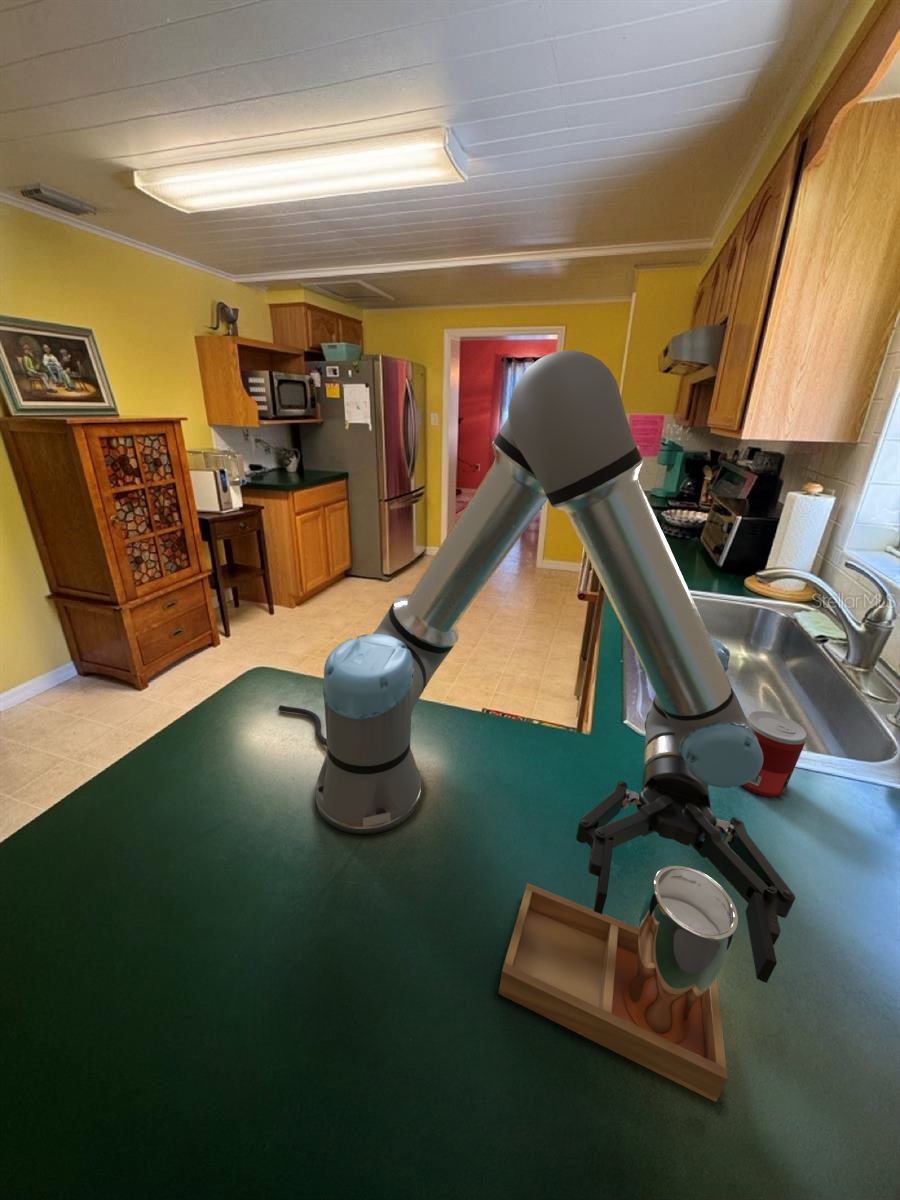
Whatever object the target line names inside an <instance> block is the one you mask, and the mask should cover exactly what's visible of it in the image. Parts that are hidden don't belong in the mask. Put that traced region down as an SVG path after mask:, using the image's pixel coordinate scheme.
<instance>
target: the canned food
mask: <svg viewBox="0 0 900 1200" xmlns="http://www.w3.org/2000/svg"><path fill="white" fill-rule="evenodd" d="M746 719H747V721H748V723H749V725H750V727H751V729H753V730H754V732H755V734H756V736H757V738H758V741H759V745H760V747H761V750H762V753H763V765H762V768H761V770H760V772H759V773H758V775H757V776H756V777H755V778H754V779H752V780H751V781H749V782H748V783H746V784H743V785H740V786H741V787H743V789H746V790H748V791H750V792H751V793H753V794H754V793H755V794H757V795H759V796H765V797H777V796H780V795H782V794H783V793H784V792H785V791H786V789H787V787H788V784H789V782H790V780H791V778H792V775H793V773H794V770H795V768H796V766H797V764H798V761H799V759H800V756H801V754H802V752H803V749H804V747H805V744H806V742H807V738H808V732H807V731H806V729H804V727H802V726H801V725H800V724H799V723H798V722H796V721H794V720H792V719H790V718H788V717H786V716H784V715H781V714H778V713H775V712H771V711H764V710H754V711H751V712H749V713H748V715H747V717H746Z"/></svg>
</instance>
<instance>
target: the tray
mask: <svg viewBox="0 0 900 1200" xmlns="http://www.w3.org/2000/svg"><path fill="white" fill-rule="evenodd" d="M638 928H639V927H637V926H635V925H632V924H631V923H628V922H625V921H623V920H620V919H618V918H616V917H613V916H611V915H608V914H605V913H603V912H602V914H599V913H597V912H595V911H594V908H591V907H589V906H585V905H583V904H580V903H578V902H577V901H573V900H571V899H569V898H567V897H563V896H561V895H559V894H556V893H553V892H551V891H549V890H546V889H544V888H542V887H539V886H536V885H534V884H531V883H530V882H527V883H526V886H525V890H524V893H523V896H522V900H521V904H520V907H519V910H518V914H517V917H516V921H515V924H514V927H513V931H512V933H511V938H510V942H509V945H508V949H507V952H506V956H505V959H504V962H503V965H502V970H501V974H500V975H501V976H500V982H499V988H498V994H499V995H500V996H502V997H504V998H506V999H508V1000H510V1001H512V1002H513V1003H516V1004H518V1005H520V1006H523V1007H524V1008H526V1009H528V1010H530V1011H532V1012H534V1013H536V1014H538V1015H540V1016H541V1017H544V1018H546V1019H548V1020H550V1021H551V1022H554V1023H556V1024H558V1025H560V1026H563V1027H564V1028H567V1029H568V1030H571V1031H572V1032H574V1033H577V1034H578V1035H579V1036H582V1037H584V1038H585V1039H588V1040H590V1041H593V1042H594V1043H597V1044H598V1045H601V1046H603V1047H605V1048H606V1049H608V1050H611V1051H612V1052H614V1053H616V1054H619V1055H620V1056H622V1057H624V1058H626V1059H629V1060H631V1061H632V1062H635V1063H636V1064H638V1065H640V1066H642V1067H645V1068H647V1069H648V1070H651V1071H652V1072H654V1073H657V1074H658V1075H661V1076H662V1077H664V1078H666V1079H668V1080H671V1081H672V1082H675V1083H676V1084H678V1085H680V1086H682V1087H685V1088H687V1089H688V1090H690V1091H692V1092H695V1093H697V1094H698V1095H701V1096H703V1097H704V1098H707V1099H708V1100H711V1101H713V1102H715V1103H716V1102H717V1101H718V1099H719V1097H720V1095H721V1093H722V1091H723V1089H724V1087H725V1085H726V1084H727V1082H728V1080H729V1077H728V1069H727V1061H726V1051H725V1042H724V1032H723V1022H722V1013H721V1004H720V1002H721V1001H720V994H719V984H718V977H717V978H716V980H715V981H714V982H713V984H712V985H711V986H710V987H709V988H708V989H707V990H706V991H705V992H704V993H703V995H702V996H701V997H700V998H699V999H698V1000H697V1001H696V1002H695V1004H694V1005H693V1008H692V1019H691V1026H690V1029H689V1032H688V1034H687V1035H686V1037H685V1038H684V1039H682V1040H681V1041H679V1042H676V1043H672V1042H670V1041H668V1040H665V1039H663V1038H661V1037H659V1036H657V1035H655V1034H653V1033H651V1032H649V1031H646V1030H644V1029H642V1028H640V1027H639V1026H638V1025H637V1024H636V1022H635V1021H634V1020H633V1018H632V1017H631V1015H630V1013H629V1011H628V1009H627V1006H626V1003H625V999H624V984H625V981H626V978H627V977H628V975H629V973H630V972H631V971H632V970H633V968H634V967H635V965H636V961H637V941H638Z"/></svg>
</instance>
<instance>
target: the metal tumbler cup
mask: <svg viewBox="0 0 900 1200" xmlns="http://www.w3.org/2000/svg"><path fill="white" fill-rule="evenodd" d="M645 897H646V898H645V900H644V902H643V906H642V909H641V912H640V916H639V920H638V927H637V928H638V941H637V961H636V965H635V967H634V968H633V970H632V971H631V972H630V973H629V975H628V977H627V978H626V981H625V984H624V999H625V1003H626V1006H627V1009H628V1011H629V1013H630V1015H631V1017H632V1018H633V1020H634V1021H635V1022H636V1024H637V1025H638V1026H639V1027H640V1028H642V1029H644V1030H646V1031H649V1032H651V1033H653V1034H655V1035H657V1036H659V1037H661V1038H663V1039H665V1040H668V1041H670V1042H672V1043H676V1042H679V1041H681V1040H682V1039H684V1038H685V1037H686V1035H687V1034H688V1032H689V1029H690V1026H691V1019H692V1008H693V1005H694V1004H695V1002H696V1001H697V1000H698V999H699V998H700V997H701V996H702V995H703V993H704V992H705V991H706V990H707V989H708V988H709V987H710V986H711V985H712V984H713V982H714V981H715V980H716V978H717V979H718V977H719V976H720V974H721V972H722V971H723V968H724V967H725V965H726V962H727V959H728V956H729V954H730V951H731V948H732V945H733V941H734V938H735V934H736V930H737V928H738V925H739V916H738V915H739V914H738V911H737V908H736V905H735V903H734V901H733V900H732V898H731V896H730V895H729V894H728V893H727V890H725V888H723V886H721V884H719V883H718V881H716V880H715V879H714V878H712V877H710V876H709V875H707V874H705V873H704V872H703V871H701V870H698V869H696V868H694V867H691V866H687V865H681V864H671V865H667V866H664V867H662V868H661V869H659V870H658V871H657V872H656V875H655V876H654V880H653V882H652V884H651V887H650V888H649V890H648V893H647V894H646V896H645Z"/></svg>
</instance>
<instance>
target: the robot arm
mask: <svg viewBox="0 0 900 1200" xmlns="http://www.w3.org/2000/svg"><path fill="white" fill-rule="evenodd" d="M615 377H616V376H615V375H614V374H613V372H612V371H611V369H610V368H609V367H608V366H607V365H606V364H605V363H604V362H603V361H602V360H601V359H599V358H598V357H596V356H594V355H592V354H590V353H587V352H584V351H580V350H576V349H575V350H573V349H571V350H570V349H569V350H568V349H567V350H560V351H555V352H551V353H549V354H546V355H544V356H542V357H539V359H537V360H536V361H534V362H533V363H532V364H531V365H530V366H528V367H527V368H526V369H525V370H524V372H523V373H522V375H521V376H520V377H519V378H518V381H517V382H516V384H515V385H514V388H513V390H512V392H511V396H510V399H509V404H508V416H507V418H506V420H504V423H503V425H502V426H501V428H500V429H499V432H498V433H497V435H496V436H495V438H494V439H493V441H492V448H493V449H492V450H493V454H494V462H493V463H492V464H491V466H490V468H489V469H488V471H487V472H486V474H485V475H484V477H483V479H482V480H481V482H480V483H479V485H478V487H477V488H476V490H475V491H474V493H473V494H472V496H471V498H470V499H469V501H468V502H467V504H466V505H465V507H464V509H463V510H462V512H461V513H460V515H459V517H458V518H457V519H456V521H455V523H454V524H453V526H452V528H451V529H450V531H449V532H448V534H447V536H446V537H445V538H444V540H443V542H442V543H441V545H440V546H439V548H438V550H437V551H436V553H435V555H434V556H433V557H432V559H431V561H430V562H429V564H428V565H427V567H426V569H425V570H424V572H423V573H422V575H421V577H420V578H419V579H418V581H417V583H416V584H415V586H414V588H413V589H412V590H411V592H410V593H406V594H401V595H398V596H397V597H395V599H394V600H393V602H392V603H391V605H390V607H389V609H388V610H387V612H386V613H385V615H384V617H383V618H382V619H381V622H379V625H378V626H377V628H375V630H374V632H373V633H368V634H361V635H358V636H357V637H356V638H348V639H346V640H345V641H343V642H341V643H339V644H338V645H337V646H336V647H334V648H333V649H332V651H331V652H330V653H329V655H328V656H327V658H326V660H325V663H324V667H323V678H322V694H323V703H324V719H325V721H324V722H325V737H324V735H323V734H322V722H321V719H320V717H319V716H318V714H316V713H315V712H314V711H312V710H309V709H305V708H301V707H293V706H286V705H283V704H280V705H279V706H278V711H281V712H286V713H293V714H299V715H303V716H306V717H309V718H310V719H312V720H313V721H314V732H315V736H316V739H317V740H318V742H319V743H320V744H322V745H324V746H325V747H326V754H325V757H324V760H323V763H322V766H321V769H320V771H319V773H318V776H317V780H316V786H315V802H316V809H317V810H318V813H319V814H320V816H321V817H322V819H323V820H325V822H326V823H327V824H329V825H330V826H331V827H333V828H335V829H337V830H339V831H342V832H344V833H349V834H355V835H372V834H378V833H382V832H385V831H386V832H387V831H389V830H391V829H393V828H395V827H397V826H399V825H401V824H402V823H404V822H405V821H406V820H407V819H408V818H410V817H411V816H412V815H413V814H414V812H415V811H416V809H417V807H418V805H419V803H420V800H421V796H422V778H421V774H420V771H419V769H418V766H417V763H416V759H415V757H414V755H413V752H412V748H411V733H412V732H411V731H412V715H413V711H414V708H415V706H416V705H417V702H418V701H419V699H420V698H421V696H422V694H423V693H424V691H425V689H426V687H427V685H428V684H429V682H430V681H431V679H432V677H433V676H434V674H435V673H436V671H437V670H438V669H439V668H440V666H441V665H442V663H443V662H444V661H445V659H446V658H447V656H448V655H449V654H450V652H451V651H452V649H453V648H454V646H455V645H456V644H457V643H458V641H459V638H460V631H459V627H458V624H459V623H460V622H461V620H462V619H463V617H464V616H465V615H466V613H467V612H468V611H469V609H470V608H471V607H472V604H474V602H475V600H476V599H477V598H478V596H479V595H480V594H481V592H482V591H483V589H484V588H485V587H486V586H487V584H488V582H489V581H490V580H491V579H492V578H493V575H494V574H495V573H496V571H498V569H499V568H500V566H501V565H502V563H503V562H504V560H505V559H506V557H507V556H508V555H509V553H510V552H511V551H512V549H513V548H514V546H515V545H516V544H517V542H518V541H519V539H520V538H521V537H522V535H523V534H524V533H525V531H526V530H527V528H528V527H529V525H530V524H531V523H532V521H533V520H534V518H535V517H536V516H537V514H538V513H539V511H540V510H541V509H542V508H543V506H544V505H545V504H546V502H547V500H548V502H549V504H550V506H551V507H552V509H556V510H559V511H563V512H564V513H565V514H566V515H567V517H568V519H569V521H570V523H571V525H572V527H573V529H574V531H575V533H576V535H577V538H578V539H579V541H580V543H581V545H582V548H583V550H584V551H585V554H586V555H587V558H588V560H589V561H590V564H591V566H592V568H593V570H594V572H595V574H596V576H597V578H598V581H599V582H600V584H601V586H602V588H603V589H604V592H605V594H606V596H607V598H608V601H609V602H610V604H611V606H612V608H613V610H614V613H615V614H616V616H617V618H618V620H619V623H620V624H621V626H622V628H623V631H624V633H625V635H626V636H627V639H628V641H629V642H630V644H631V647H632V649H633V650H634V652H635V653H634V654H635V655H636V657H637V659H638V661H639V663H640V665H641V668H642V669H643V671H644V673H645V675H646V677H647V679H648V681H649V683H650V685H651V687H652V689H653V691H654V697H653V700H652V704H651V705H650V706H649V708H648V710H647V713H646V718H645V721H644V730H645V731H644V732H645V733H644V734H645V735H644V736H645V737H644V739H645V740H644V755H643V768H642V782H641V792H639V793H638V792H637V791H634V790H631V789H629V788H628V783H626V781H623V780H618V781H617V782H616V785H615V788H614V791H612V792H611V793H610V794H608V796H606V797H605V798H604V799H602V801H601V802H598V804H597V805H595V806H594V807H593V808H591V809H590V810H589V811H588V812H587V813H585V814H584V815H583V816H582V817H581V818H580V819H579V821H578V826H577V830H576V834H575V839H576V840H577V842H579V843H581V844H585V843H586V844H587V845H588V846H589V847H590V855H589V861H588V868H587V870H588V873H589V874H591V875H593V876H596V877H598V879H597V886H596V893H595V901H594V907H593V910H594V911H595V912H597V913H599V914H602V913H603V912H604V908H605V904H606V900H607V897H608V890H609V882H610V873H611V865H612V857H613V849H614V848H617V847H619V846H621V845H623V844H625V843H627V842H630V841H632V840H633V839H636V838H638V837H640V836H642V837H647V836H648V835H650V834H652V833H656V834H658V836H659V837H660V838H664V839H667V840H674V841H676V842H677V843H679V844H681V845H684V846H686V847H690V846H691V847H692V848H693V849H694V850H695V851H696V852H697V854H698V855H700V856H701V857H702V858H706V859H707V860H708V861H709V862H710V863H711V864H712V865H713V866H714V867H715V868H716V870H717V872H719V873H720V874H721V875H722V876H723V877H724V879H725V880H726V881H727V882H728V883H729V884H730V885H731V886H732V887H733V888H734V890H735V891H736V892H737V893H738V894H739V895H740V896H741V897H742V899H743V900H744V901H745V902H746V903H747V907H746V909H745V917H746V923H747V928H748V929H747V930H748V935H749V941H750V948H751V953H752V960H753V966H754V970H755V971H754V972H755V977H756V980H759V981H761V982H763V983H765V984H768V982H769V980H770V978H771V976H772V974H773V971H774V970H775V968H776V965H777V964H778V961H777V957H776V952H775V947H774V946H775V944H776V943H777V941H778V938H779V937H780V934H781V927H780V923H779V918H778V917H780V918H783V919H785V918H787V917H788V915H789V913H790V911H791V909H792V907H793V904H794V903H795V900H796V895H795V894H794V892H793V891H792V890H791V889H790V888H789V886H788V885H787V884H786V882H785V881H784V880H783V878H782V876H781V875H780V874H779V873H778V872H777V871H776V869H775V868H774V866H773V865H772V864H771V862H770V861H769V860H768V859H767V858H766V856H765V855H764V854H763V853H762V851H761V850H760V848H759V847H758V846H757V845H756V844H755V842H754V841H753V840H752V838H751V837H750V835H749V834H748V832H747V829H746V828H747V827H746V826H745V824H744V821H743V820H742V819H741V818H739V817H737V816H732V818H730V821H728V820H723V819H719V818H717V817H716V816H715V814H714V813H713V811H712V810H711V809H712V808H711V800H710V799H711V798H710V792H709V791H710V790H709V786H711V787H713V788H714V787H715V788H722V789H729V788H733V787H739V786H741V785H743V784H746V783H748V782H749V781H751V780H752V779H754V778H755V777H756V776H757V775H758V773H759V772H760V770H761V768H762V765H763V753H762V750H761V747H760V745H759V741H758V738H757V736H756V734H755V732H754V730H753V729H751V727H750V725H749V723H748V721H747V719H746V718H747V717H746V715H745V712H744V710H743V708H742V706H741V703H740V701H739V699H738V696H737V694H736V693H735V691H734V689H733V687H732V683H731V681H730V678H729V676H728V674H727V671H728V670H729V662H730V657H731V651H730V649H729V648H728V647H727V645H726V644H724V643H723V642H721V641H719V640H718V639H715V638H714V637H711V636H710V635H709V632H708V629H707V627H706V626H705V623H704V621H703V619H702V616H701V615H700V612H699V610H698V608H697V605H696V603H695V601H694V599H693V597H692V594H691V592H690V590H689V588H688V585H687V583H686V581H685V579H684V576H683V575H682V572H681V570H680V568H679V566H678V563H677V561H676V559H675V556H674V554H673V552H672V550H671V547H670V545H669V542H668V541H667V538H666V535H665V534H664V532H663V530H662V528H661V525H660V523H659V522H658V519H657V516H656V514H655V512H654V509H653V507H652V505H651V503H650V501H649V499H648V497H647V494H646V491H645V490H644V487H643V485H642V483H641V481H640V479H639V473H640V472H641V468H642V466H643V463H644V460H643V457H642V454H641V452H640V451H639V447H638V446H637V443H636V440H635V438H634V436H633V433H632V429H631V427H630V423H629V421H628V418H627V414H626V411H625V407H624V406H625V405H624V402H623V398H622V394H621V391H620V387H619V384H618V382H617V379H616V378H615ZM632 805H636V808H637V811H634V812H632V813H630V814H628V815H625V816H623V817H621V818H618V819H616V820H614V821H612V820H613V819H614V818H616V816H617V815H619V813H620V812H621V810H622V809H623V810H627V808H629V807H630V806H632Z"/></svg>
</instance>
